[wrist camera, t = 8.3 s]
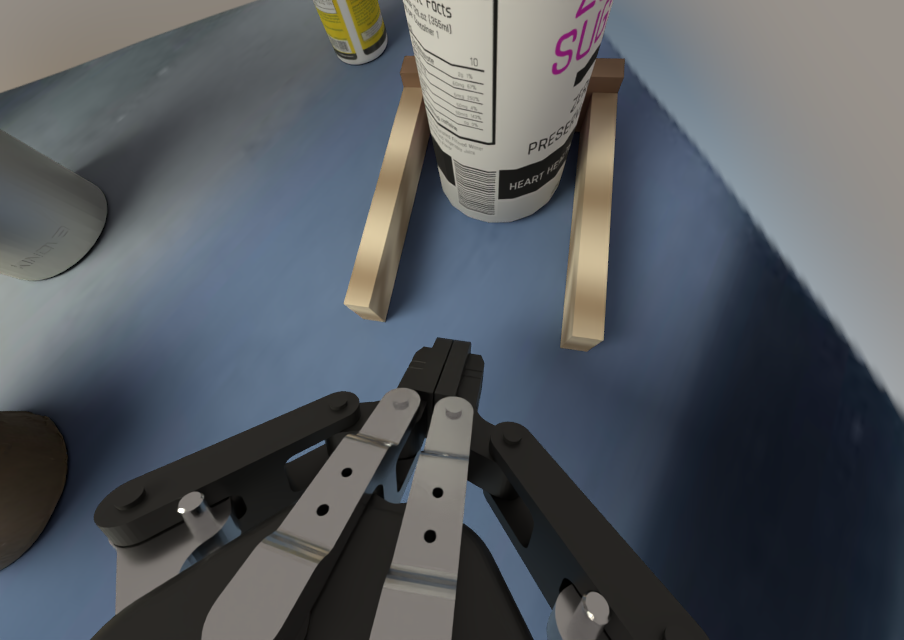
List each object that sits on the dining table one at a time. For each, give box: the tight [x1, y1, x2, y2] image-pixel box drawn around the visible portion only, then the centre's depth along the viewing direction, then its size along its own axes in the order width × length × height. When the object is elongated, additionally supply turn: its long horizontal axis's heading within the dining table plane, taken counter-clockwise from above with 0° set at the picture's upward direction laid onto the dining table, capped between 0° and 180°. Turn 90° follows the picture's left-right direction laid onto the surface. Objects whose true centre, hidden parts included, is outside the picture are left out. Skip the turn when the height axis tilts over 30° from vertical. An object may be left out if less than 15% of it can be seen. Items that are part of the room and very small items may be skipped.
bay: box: [344, 56, 625, 352], centre depth 21 cm, size 18×14×4 cm
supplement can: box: [403, 0, 613, 223], centre depth 16 cm, size 8×8×15 cm
